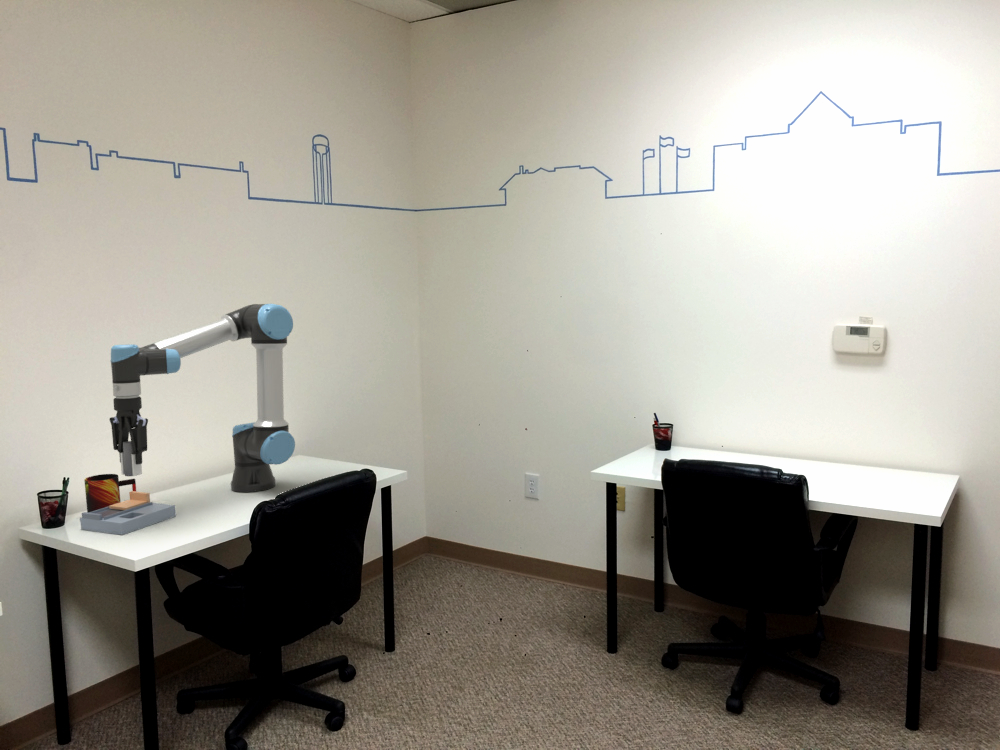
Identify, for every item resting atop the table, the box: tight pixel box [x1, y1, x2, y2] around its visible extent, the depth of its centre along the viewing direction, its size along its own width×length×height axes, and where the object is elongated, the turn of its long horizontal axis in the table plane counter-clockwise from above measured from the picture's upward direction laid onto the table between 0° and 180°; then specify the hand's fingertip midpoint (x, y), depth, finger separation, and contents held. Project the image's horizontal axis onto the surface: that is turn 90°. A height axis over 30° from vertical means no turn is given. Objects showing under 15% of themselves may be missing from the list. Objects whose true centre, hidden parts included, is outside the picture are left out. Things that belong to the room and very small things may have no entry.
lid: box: [109, 490, 151, 510], centre depth 247 cm, size 9×7×3 cm
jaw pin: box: [123, 440, 138, 477], centre depth 238 cm, size 4×4×10 cm
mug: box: [83, 473, 137, 513], centre depth 254 cm, size 10×14×12 cm
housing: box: [79, 501, 177, 536], centre depth 242 cm, size 20×17×5 cm
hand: (131, 474), depth 238 cm, fingers closed on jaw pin, 4 cm apart
